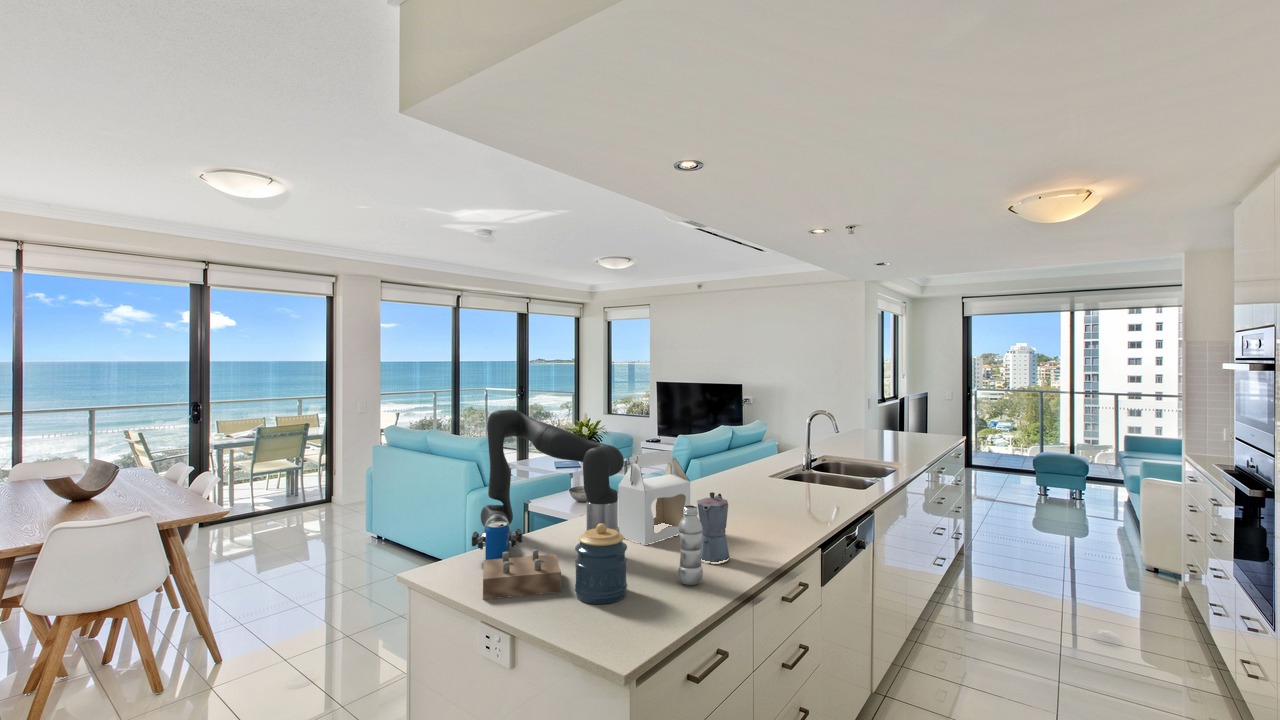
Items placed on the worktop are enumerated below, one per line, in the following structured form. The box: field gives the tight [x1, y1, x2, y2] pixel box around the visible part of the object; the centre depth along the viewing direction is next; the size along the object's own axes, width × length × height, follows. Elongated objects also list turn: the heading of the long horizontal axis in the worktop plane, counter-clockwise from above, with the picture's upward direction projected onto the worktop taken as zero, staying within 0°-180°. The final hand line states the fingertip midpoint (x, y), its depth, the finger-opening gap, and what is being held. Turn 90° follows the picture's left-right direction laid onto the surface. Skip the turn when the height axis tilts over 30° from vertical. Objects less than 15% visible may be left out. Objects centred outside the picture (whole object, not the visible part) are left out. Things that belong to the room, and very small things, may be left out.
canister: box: [574, 523, 628, 605], centre depth 140 cm, size 13×13×18 cm
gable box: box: [617, 449, 691, 546], centre depth 190 cm, size 22×13×28 cm, turn 133°
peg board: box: [482, 549, 562, 600], centre depth 146 cm, size 19×14×8 cm
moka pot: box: [696, 491, 730, 562], centre depth 166 cm, size 10×15×20 cm, turn 158°
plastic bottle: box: [677, 504, 704, 586], centre depth 147 cm, size 6×7×20 cm
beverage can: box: [484, 521, 510, 560], centre depth 160 cm, size 6×6×12 cm
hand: (497, 544), depth 158 cm, fingers open, 8 cm apart
